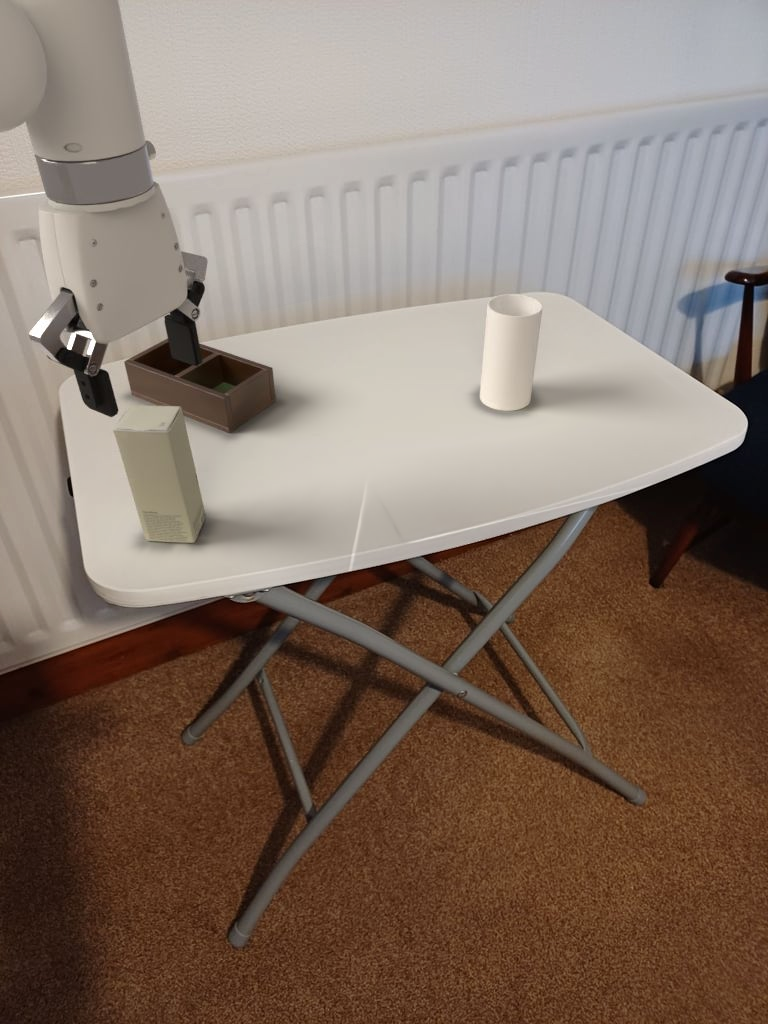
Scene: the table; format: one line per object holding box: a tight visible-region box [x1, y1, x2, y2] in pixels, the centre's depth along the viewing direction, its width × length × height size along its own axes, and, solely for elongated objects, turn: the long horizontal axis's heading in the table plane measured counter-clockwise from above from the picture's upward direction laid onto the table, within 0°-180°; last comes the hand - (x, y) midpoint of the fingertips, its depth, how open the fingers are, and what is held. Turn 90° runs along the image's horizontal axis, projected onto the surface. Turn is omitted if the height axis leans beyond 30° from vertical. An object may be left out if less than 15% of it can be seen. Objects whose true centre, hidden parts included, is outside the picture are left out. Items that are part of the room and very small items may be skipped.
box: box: [112, 404, 206, 544], centre depth 72 cm, size 5×4×13 cm
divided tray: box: [123, 337, 277, 434], centre depth 94 cm, size 8×16×5 cm, turn 57°
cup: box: [479, 293, 543, 412], centre depth 92 cm, size 6×6×12 cm
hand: (147, 385), depth 67 cm, fingers open, 9 cm apart
